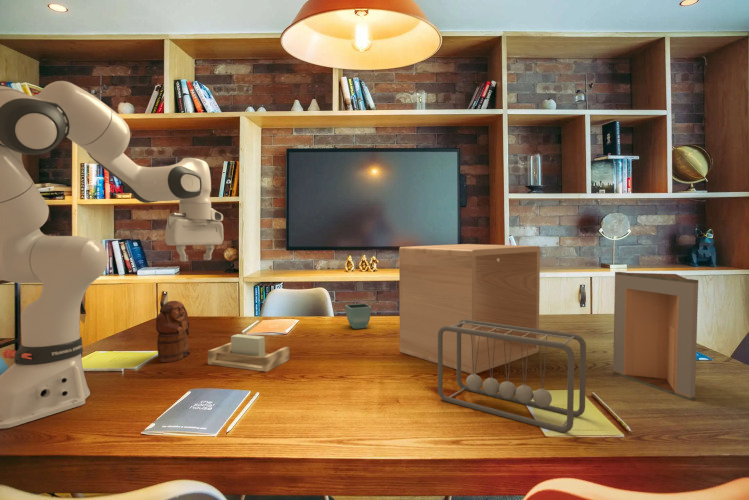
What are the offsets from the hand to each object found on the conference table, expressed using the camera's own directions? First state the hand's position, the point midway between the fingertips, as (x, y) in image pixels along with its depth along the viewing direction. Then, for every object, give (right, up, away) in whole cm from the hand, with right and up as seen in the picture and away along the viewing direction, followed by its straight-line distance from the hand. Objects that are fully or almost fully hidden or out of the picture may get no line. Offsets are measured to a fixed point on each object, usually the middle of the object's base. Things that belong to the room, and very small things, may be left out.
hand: (196, 260), depth 132 cm
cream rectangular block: (+15, -30, +3) cm, 34 cm away
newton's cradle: (+83, -33, -33) cm, 95 cm away
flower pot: (+46, -29, +48) cm, 73 cm away
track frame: (+15, -31, +3) cm, 34 cm away
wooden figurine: (-10, -31, +8) cm, 33 cm away
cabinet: (+127, -31, -18) cm, 132 cm away
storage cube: (+84, -30, +12) cm, 90 cm away
